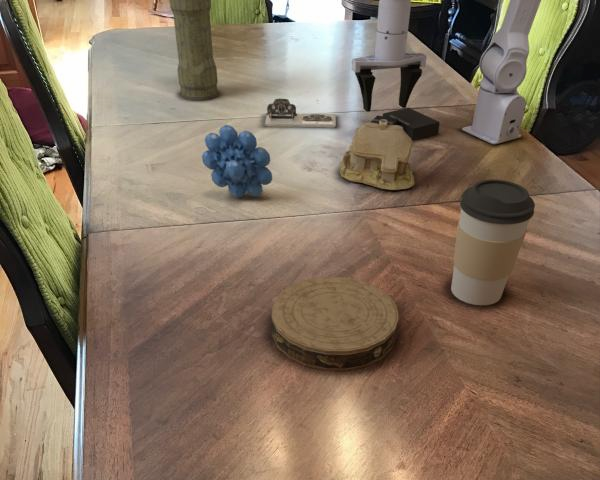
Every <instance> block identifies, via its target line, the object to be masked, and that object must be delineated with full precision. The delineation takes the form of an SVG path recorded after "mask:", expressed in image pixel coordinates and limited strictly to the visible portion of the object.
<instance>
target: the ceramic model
mask: <svg viewBox="0 0 600 480" xmlns="http://www.w3.org/2000/svg"><path fill="white" fill-rule="evenodd" d="M354 131H355V132H354V135H353V138H352V141H351V145H350V146H349V148H348V150H347V151H345V152H344V153H343V157H342V159H341V161H340V162H339V164H338V167H339V174H340V176H341V177H342V178H344V179H345V180H347V181H350V182H355V183H362V184H365V185H369V186H372V187H376V188H378V189H382V190H389V191H399V190H406V189H410V188H413V187H414V186H415V179H414V178H415V176H414V175H413V174H414V173H413V166H412V164H411V163H409V162H408V161H409V160H410V156H411V154H412V153H411V151H412V149H413V145H414V144H413V143H414V140H413V141H412V139H411V138H410V137H409V136H408V135H407V134H406V133H405V132H404V130H403V128H402V127H401V126H399V125H388V124H387V120H386V119H381V120H380V122H379V124H377V123H370V122H364V124H363V125H361V126H360V127H358V128H356V130H354Z"/></svg>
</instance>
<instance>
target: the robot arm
mask: <svg viewBox="0 0 600 480" xmlns="http://www.w3.org/2000/svg"><path fill="white" fill-rule="evenodd" d="M541 2H542V0H509V2H508V5H507V8H506V11H505V14H504V17H503V20H502V23H501V26H500V28H498V30H497V31H496V32H495V33H494V34H493V35H492V37H491V39H490V42H489V45H488V47H487V48H486V49H485V50H484V51H483V53H482V54H481V57H480V59H479V71H480V73H481V75H482V77H481V80H480V83H479V87H478V93H477V98H476V102H475V109H474V113H473V119H472V124H471V125H468V126H464V127H462V129H461V130H462V131H463V132H465V133H467V134H469V135H471V136H474V137H476V138H478V139H480V140H482V141H484V142H486V143H489V144H490V145H498V144H501V143H505V142H509V141H512V140H516V139H520V138H521V137H522V134H521V133H520V132H521V128H522V123H523V121H524V116H525V112H526V108H527V107H526V106H527V102H526V98H525V97H524V96H523V95H521V94H520V93H519V91H518V88H519V87H520V86H521V85H522V84H523V82H524V80H525V78H526V76H527V70H528V69H527V63H528V61H527V60H528V57H529V55H530V42H529V34H530V32H531V29H532V26H533V24H534V21H535V18H536V15H537V12H538V10H539V8H540V5H541ZM411 6H412V1H411V0H379V1H378V10H377V21H376V22H377V23H376V35H375V45H374V46H375V47H374V54H370V55H365V56H361V57H353V58H351V71H352V72H354V74H355V77H356V80H357V82H358V86H359V88H360V94H361V98H362V106H363V108H362V109H363V110H364V111H365V112H366V113H367V112H368V113H370V112H371V110H372V100H373V91H374V85H375V83H376V76H375V75H374V74H373V73H374V72H373V71H377V70H387V69H389V70H390V69H399V68H400V86H399V87H400V88H399V94H398V95H399V96H398V106H400V107H401V109H405V108H407V105H408V102H409V100H410V97H411V95H412V93H413V90H414V88H415V86H416V84H417V83H418V81H419V80H420V78H421V77H422V76H423V75H422V74H423V69H422V68H423V67H426V64H427V57H428V55H426V54H425V53H423V52H406V51H407V50H406V49H407V41H408V34H409V33H408V32H409V25H410V15H411Z"/></svg>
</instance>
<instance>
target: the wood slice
mask: <svg viewBox="0 0 600 480" xmlns="http://www.w3.org/2000/svg"><path fill="white" fill-rule="evenodd" d="M399 321H400V316H399V310H398V306H397V304H396V303H395V302H394V301H393V299H392V297H391V296H390V295H389V294H387V293H386V292H385V291H383V290H382V289H380V288H379V287H378V286H375V285H373V284H370V283H368V282H366V281H363V280H360V279H355V278H351V277H344V276H320V277H314V278H308V279H305V280H302V281H299V282H296V283H294V284H291V285H289V286H288V287H287V288H285V289H284V290H283V291H281V292H280V293H279V294H278V295H277V297H276V299H275V300H274V301H273V303H272V306H271V337H272V339H273V341H274V343H275V345H276V347H277V349H278V350H280V351H281V352H282V353H283V354H284V355H285V356H286V357H287V358H288V359H290V360H292V361H294V362H296V363H298V364H300V365H302V366H304V367H306V368H307V367H308V368H313V369H317V370H321V371H329V372H330V371H331V372H332V371H333V372H335V371H336V372H337V371H338V372H346V371H352V370H357V369H362V368H367V367H368V366H371V365H373V364H375V363H377V362H379V361H381V360H382V359H384V357H386V356H387V355H388V354H389V353H390V352H391V350H392V349H393V348H394V344H395V342H396V338H397V336H398V335H397V334H398V327H399Z"/></svg>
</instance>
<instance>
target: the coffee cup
mask: <svg viewBox="0 0 600 480" xmlns="http://www.w3.org/2000/svg"><path fill="white" fill-rule="evenodd" d="M459 206H460V213H459V218H458V220H457V226H456V235H455V236H456V237H455V245H454V252H453V271H452V278H451V285H450V286H451V287H450V291H451V293H452V294H453V296H454V297H456V298H457V299H458V300H459V301H462V302H464V303H466V304H469V305H475V306H490V305H493V304H496V303H498V302H499V301H500V300H501V298H502V295H503V293H504V290H505V288H506V285H507V282H508V280H509V277H510V275H511V274H512V272H513V270H514V267H515V264H516V261H517V258H518V256H519V253H520V250H521V248H522V245H523V242H524V239H525V237H526V234H527V228H528V226H529V223H530V220H531V218H533V216H534V215H535V208H536V204H535V201H534V199H533V198H532V197H531V196H530V193H529V191H528V190H527V188H525V187H524V186H523V185H520V184H519V183H515V182H513V181H509V180H504V179H493V178H491V179H484V180H483V179H482V180H480V181H477V182H475V183H474V184H473V186H470V187H468V188H467V189H465V190H464V191H463V192H462V195H461V199H460V202H459Z"/></svg>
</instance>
